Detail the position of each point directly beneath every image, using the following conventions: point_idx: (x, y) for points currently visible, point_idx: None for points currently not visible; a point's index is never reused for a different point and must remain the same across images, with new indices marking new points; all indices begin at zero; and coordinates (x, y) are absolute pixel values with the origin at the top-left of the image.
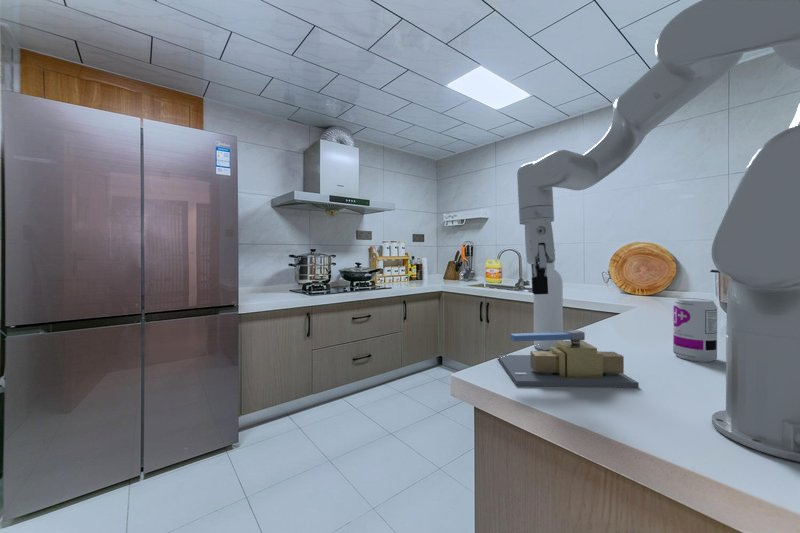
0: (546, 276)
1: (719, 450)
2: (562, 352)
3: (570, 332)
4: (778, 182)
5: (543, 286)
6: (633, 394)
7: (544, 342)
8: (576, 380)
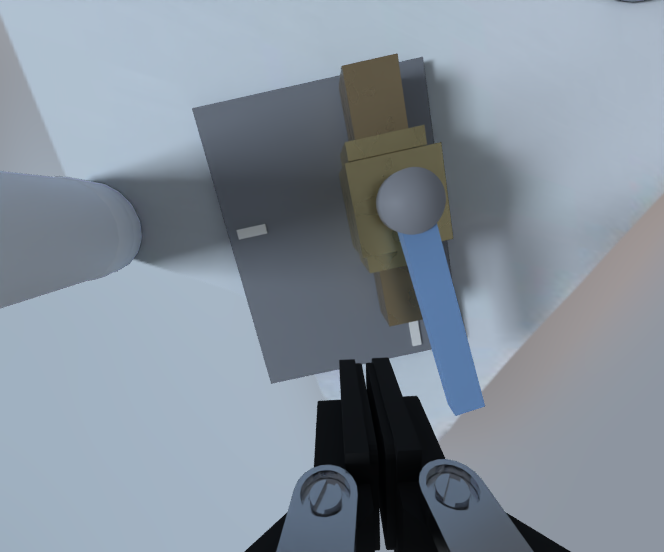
0: (460, 466)
1: None
2: None
3: (423, 221)
4: None
5: (423, 418)
6: (463, 94)
7: (126, 249)
8: None
